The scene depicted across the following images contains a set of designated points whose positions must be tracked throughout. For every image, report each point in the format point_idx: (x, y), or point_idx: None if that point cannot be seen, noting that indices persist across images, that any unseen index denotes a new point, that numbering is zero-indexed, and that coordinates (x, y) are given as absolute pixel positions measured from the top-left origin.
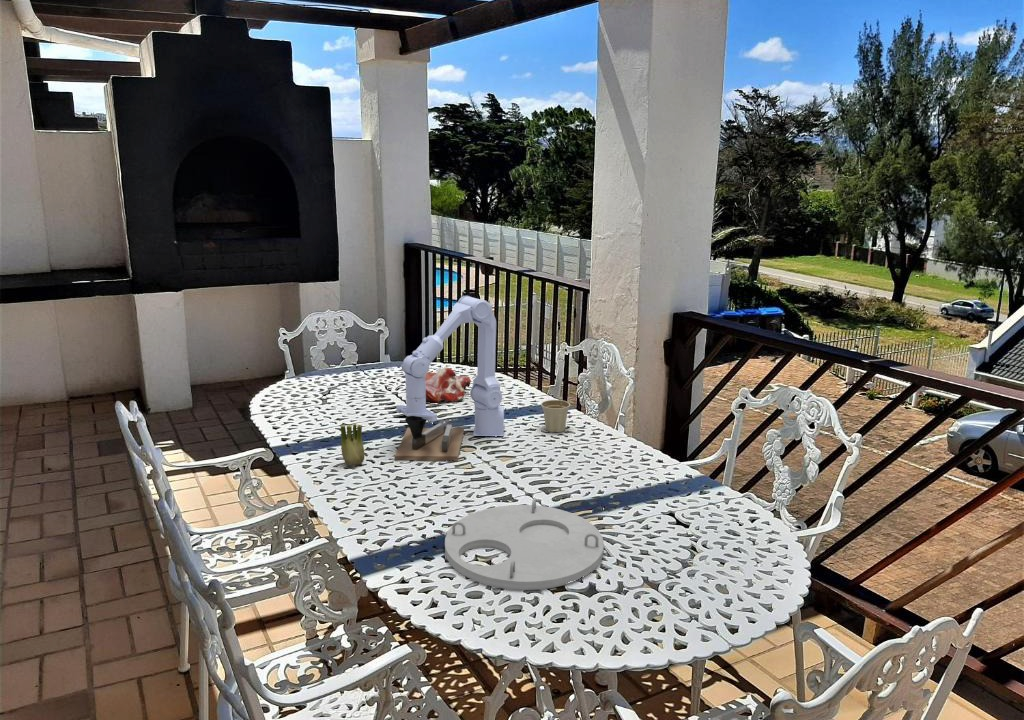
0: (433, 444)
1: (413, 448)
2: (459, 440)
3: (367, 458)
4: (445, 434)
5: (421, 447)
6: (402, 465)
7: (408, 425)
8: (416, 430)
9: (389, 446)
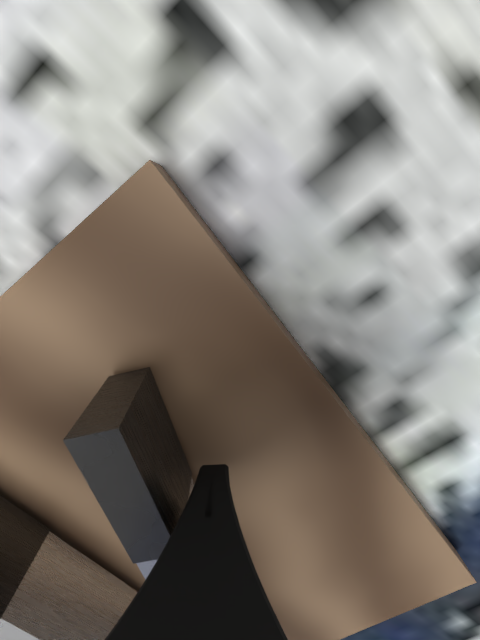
0: None
1: (134, 372)
2: None
3: (409, 22)
4: (18, 635)
5: None
6: (21, 128)
7: (270, 614)
8: (152, 572)
9: (413, 352)
